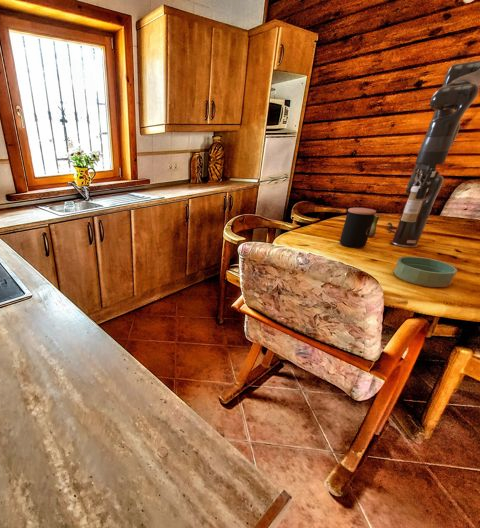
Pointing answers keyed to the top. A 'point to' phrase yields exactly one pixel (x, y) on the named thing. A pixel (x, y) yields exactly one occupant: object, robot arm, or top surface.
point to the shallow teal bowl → (425, 271)
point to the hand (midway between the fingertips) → (416, 197)
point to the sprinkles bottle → (412, 206)
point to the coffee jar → (357, 227)
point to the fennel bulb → (373, 226)
